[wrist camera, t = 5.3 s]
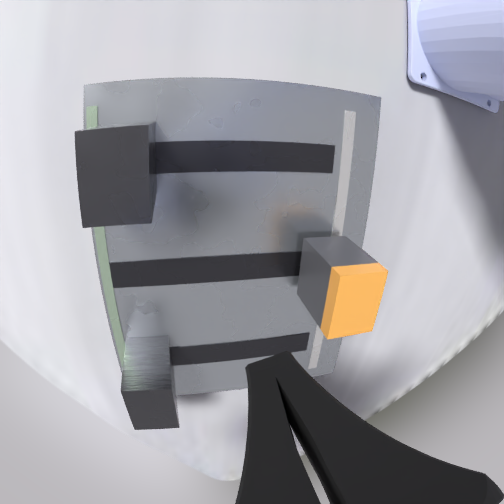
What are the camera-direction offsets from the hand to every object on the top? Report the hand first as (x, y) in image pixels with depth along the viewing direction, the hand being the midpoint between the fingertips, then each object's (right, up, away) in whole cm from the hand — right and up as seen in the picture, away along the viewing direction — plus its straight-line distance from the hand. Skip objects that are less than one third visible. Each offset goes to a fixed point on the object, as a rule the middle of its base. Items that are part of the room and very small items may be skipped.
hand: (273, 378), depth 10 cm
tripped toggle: (+3, +3, +7) cm, 9 cm away
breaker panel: (-2, +4, +8) cm, 9 cm away
